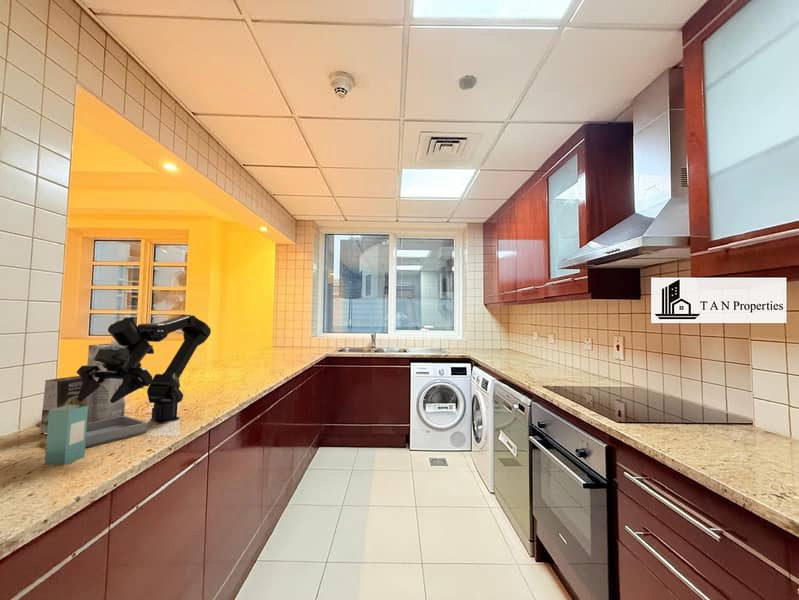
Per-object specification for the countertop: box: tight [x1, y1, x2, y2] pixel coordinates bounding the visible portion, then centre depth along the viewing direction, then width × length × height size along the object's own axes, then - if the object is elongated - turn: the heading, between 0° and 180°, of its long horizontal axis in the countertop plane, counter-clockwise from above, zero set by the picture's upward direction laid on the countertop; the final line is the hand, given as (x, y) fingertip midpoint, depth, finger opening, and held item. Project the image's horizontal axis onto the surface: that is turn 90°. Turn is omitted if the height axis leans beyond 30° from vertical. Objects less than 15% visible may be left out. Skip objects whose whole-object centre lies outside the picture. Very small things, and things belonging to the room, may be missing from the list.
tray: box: [85, 415, 148, 449], centre depth 102 cm, size 18×14×3 cm
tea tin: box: [44, 405, 88, 466], centre depth 86 cm, size 5×5×13 cm
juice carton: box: [87, 340, 127, 423], centre depth 118 cm, size 9×10×27 cm
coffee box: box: [39, 375, 91, 433], centre depth 107 cm, size 9×6×16 cm
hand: (94, 401), depth 93 cm, fingers open, 9 cm apart
